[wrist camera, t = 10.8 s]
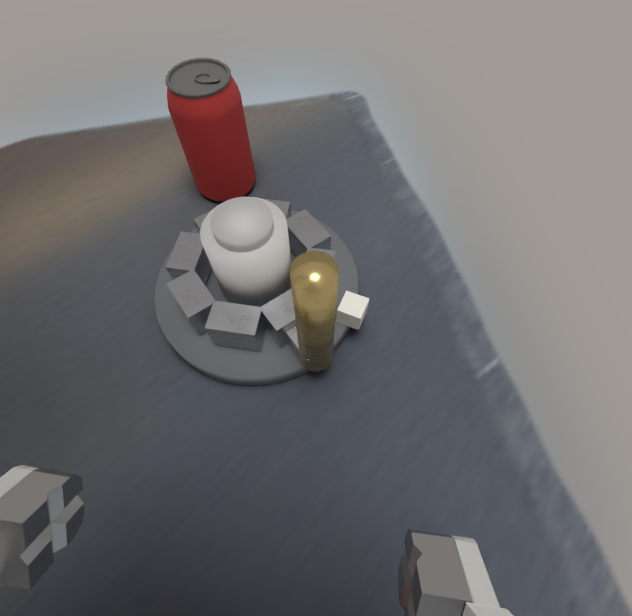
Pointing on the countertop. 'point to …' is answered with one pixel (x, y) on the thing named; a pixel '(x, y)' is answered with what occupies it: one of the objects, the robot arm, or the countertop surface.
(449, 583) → the robot arm
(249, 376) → the flange base
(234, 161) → the beer can
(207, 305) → the gear with peg
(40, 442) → the countertop surface
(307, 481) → the countertop surface
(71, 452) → the countertop surface
